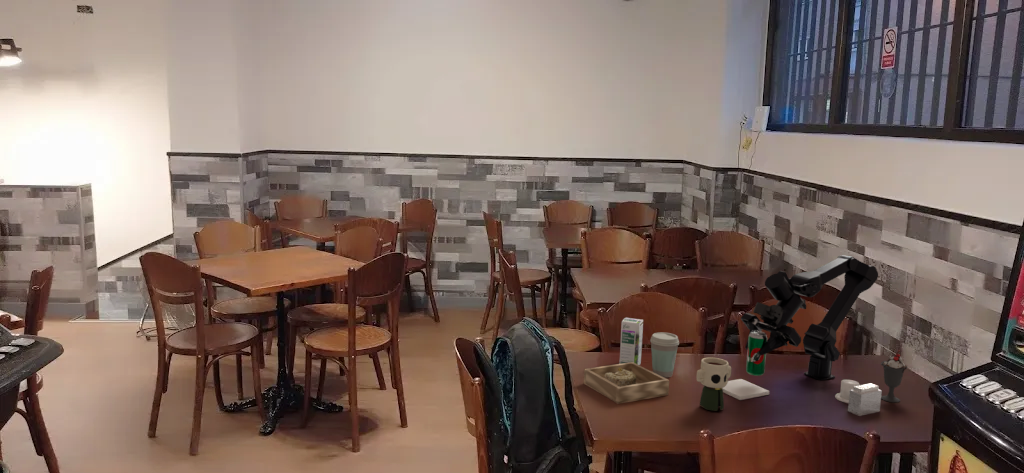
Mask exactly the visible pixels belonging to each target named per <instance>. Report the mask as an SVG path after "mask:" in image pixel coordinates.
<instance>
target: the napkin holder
mask: <svg viewBox="0 0 1024 473" xmlns="http://www.w3.org/2000/svg"><path fill="white" fill-rule="evenodd" d="M879 387H880V386H879V385H877V384H874V383H871V382H870V383H864V384H859V386H854V389H853V390H850V394H849V403H847V404H848V406H847V412H849V413H852V414H853V415H856V416H859V417H862V416H865V415H870V414H875V413H879V412H880V411H881V402H882V399H881V396H882V392H883V391H882V390H881V389H879Z"/></svg>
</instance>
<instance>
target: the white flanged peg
mask: <svg viewBox="0 0 1024 473" xmlns="http://www.w3.org/2000/svg"><path fill="white" fill-rule="evenodd" d="M859 385H860V383H859V381H856V380H852V379H842V380H841V381H840V392H839V393H836V394H835V395H834V398H835V399H836V400H837V401H840V402H842V403H846V404H849V394H850V390H853V389H854V386H859Z"/></svg>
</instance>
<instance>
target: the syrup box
mask: <svg viewBox="0 0 1024 473" xmlns="http://www.w3.org/2000/svg"><path fill="white" fill-rule="evenodd" d="M620 328H621V329H620V348H619V349H620V350H619V361H618V362H619V363H618V364H622V363H629V362H634V363H636V364H638V365H640V366H641V362H642V351H643V350H642V348H643V331H644V319H640V318H632V317H624V318H623V319H622V320H621V327H620Z"/></svg>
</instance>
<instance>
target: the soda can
mask: <svg viewBox="0 0 1024 473" xmlns="http://www.w3.org/2000/svg"><path fill="white" fill-rule="evenodd" d="M749 332H750V331H749ZM748 336H749V339H748V338H747V340H748V350H747V354H746V365H745V371H746V373H747V374H749V375H751V376H756V377H757V376H758V377H760V376H763V375H764V374H765V370H766V358H767V353H766V354H764V355H760V354H759V352H760V351H761V349H762V347H763V346H764V345H765V343H766V342H767V340H768V337H767V336H768V335H767V333H766V332H765V331H762V330H761V331H751V332H750V335H749V334H748Z"/></svg>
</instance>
